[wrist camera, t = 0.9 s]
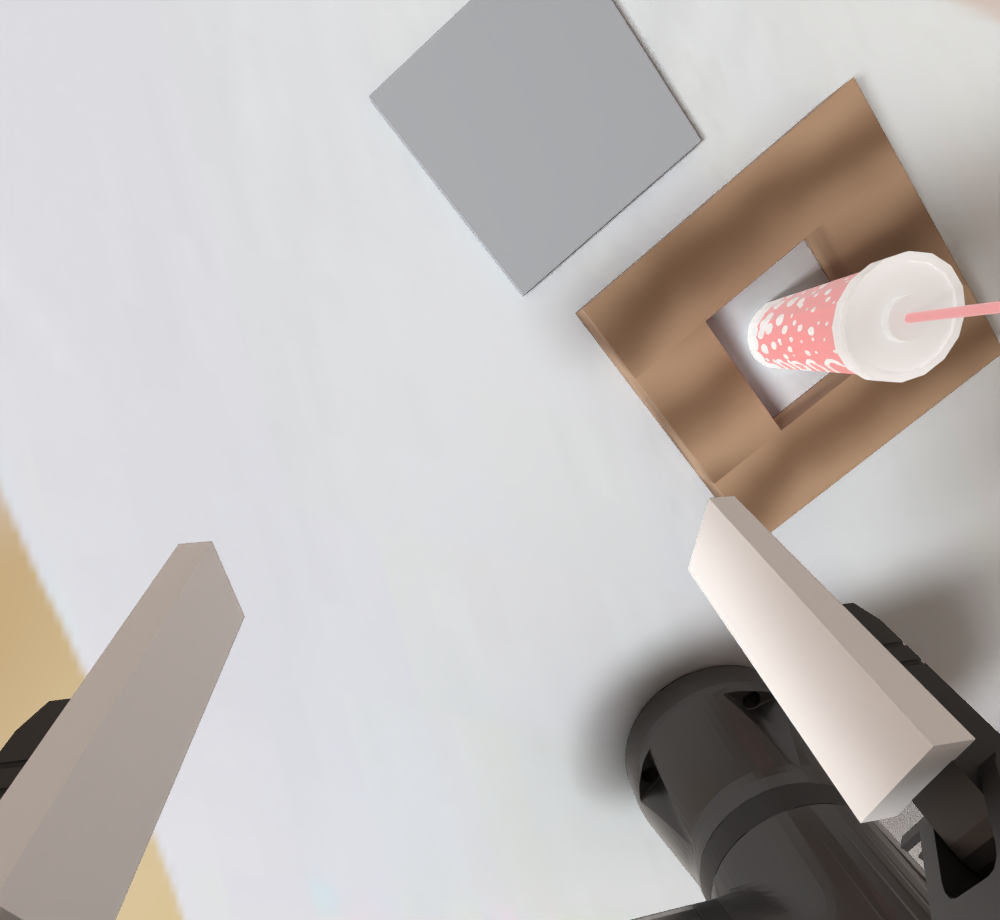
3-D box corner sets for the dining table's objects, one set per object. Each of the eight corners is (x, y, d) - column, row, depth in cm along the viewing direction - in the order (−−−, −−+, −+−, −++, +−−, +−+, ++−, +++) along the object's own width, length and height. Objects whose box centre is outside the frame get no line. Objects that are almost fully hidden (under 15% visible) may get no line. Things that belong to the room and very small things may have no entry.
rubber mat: (696, 145, 28) (701, 140, 27) (522, 296, 29) (523, 294, 28) (556, -73, 25) (558, -84, 25) (371, 102, 26) (369, 95, 26)
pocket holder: (971, 352, 32) (1004, 351, 30) (741, 531, 33) (758, 542, 31) (826, 98, 28) (853, 77, 26) (575, 313, 29) (582, 309, 27)
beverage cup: (718, 341, 30) (921, 317, 17) (780, 266, 30) (1045, 175, 16) (780, 397, 31) (1020, 418, 18) (841, 325, 31) (1141, 288, 17)
